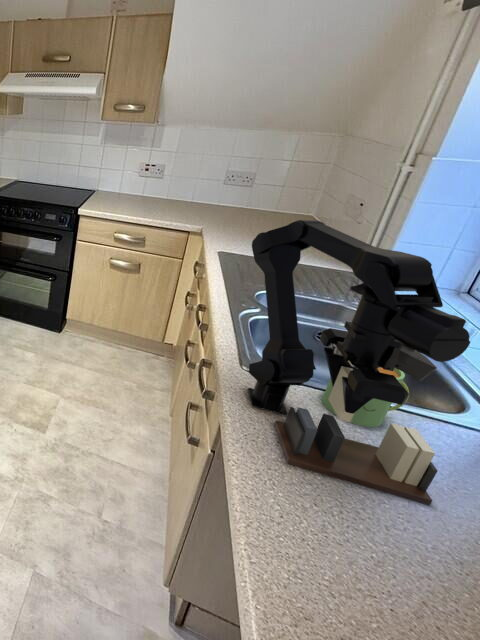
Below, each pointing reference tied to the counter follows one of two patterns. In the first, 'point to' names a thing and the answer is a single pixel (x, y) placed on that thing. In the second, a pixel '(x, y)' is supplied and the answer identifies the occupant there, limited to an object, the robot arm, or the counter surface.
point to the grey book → (306, 429)
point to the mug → (370, 404)
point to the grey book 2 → (329, 437)
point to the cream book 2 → (397, 452)
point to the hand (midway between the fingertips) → (342, 401)
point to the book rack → (349, 462)
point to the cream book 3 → (418, 458)
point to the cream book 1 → (340, 396)
